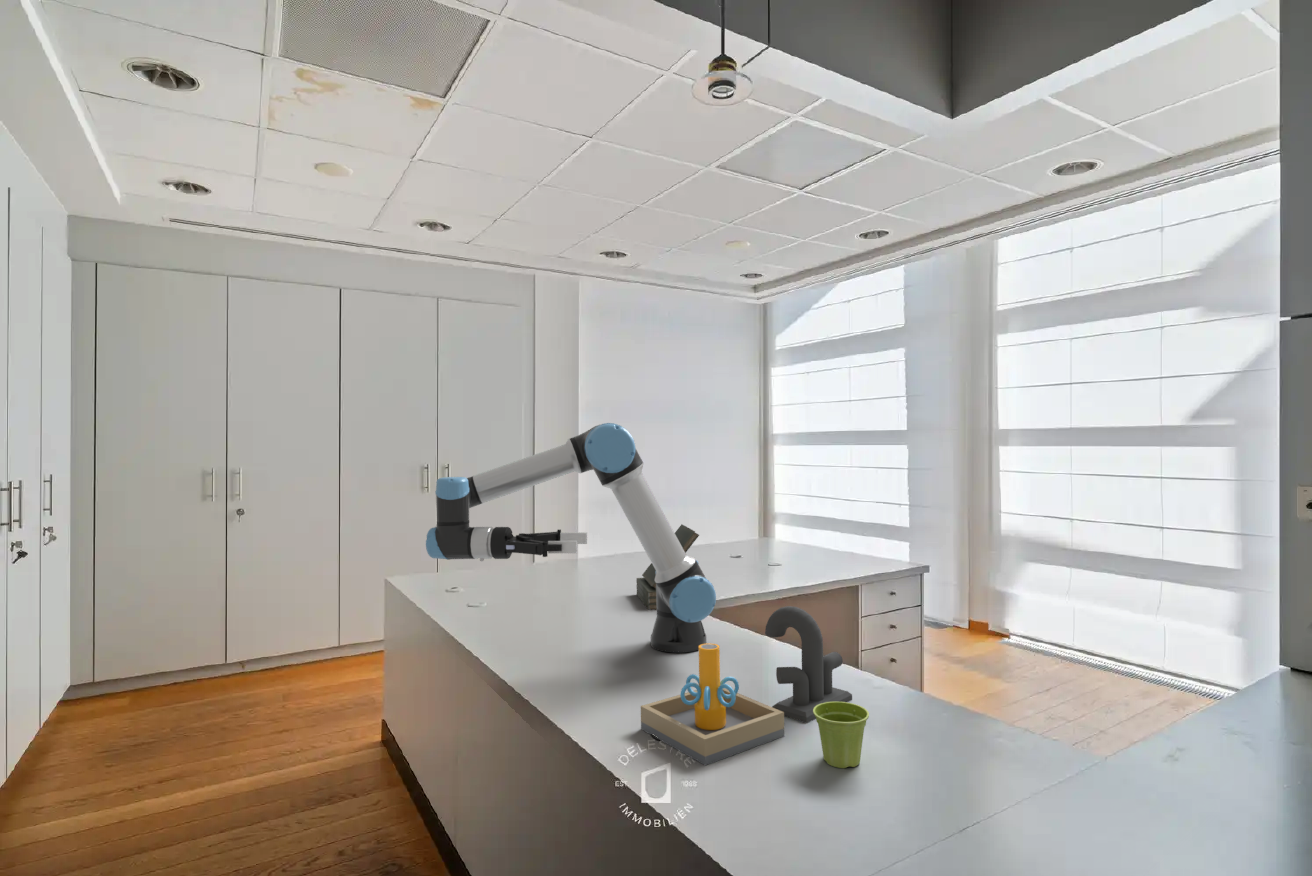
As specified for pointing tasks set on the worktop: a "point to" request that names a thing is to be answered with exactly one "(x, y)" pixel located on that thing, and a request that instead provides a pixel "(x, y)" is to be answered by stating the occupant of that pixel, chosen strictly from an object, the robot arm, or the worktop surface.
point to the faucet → (805, 666)
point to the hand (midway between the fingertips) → (582, 542)
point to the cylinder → (709, 690)
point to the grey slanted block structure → (648, 584)
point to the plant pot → (841, 732)
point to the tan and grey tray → (741, 732)
